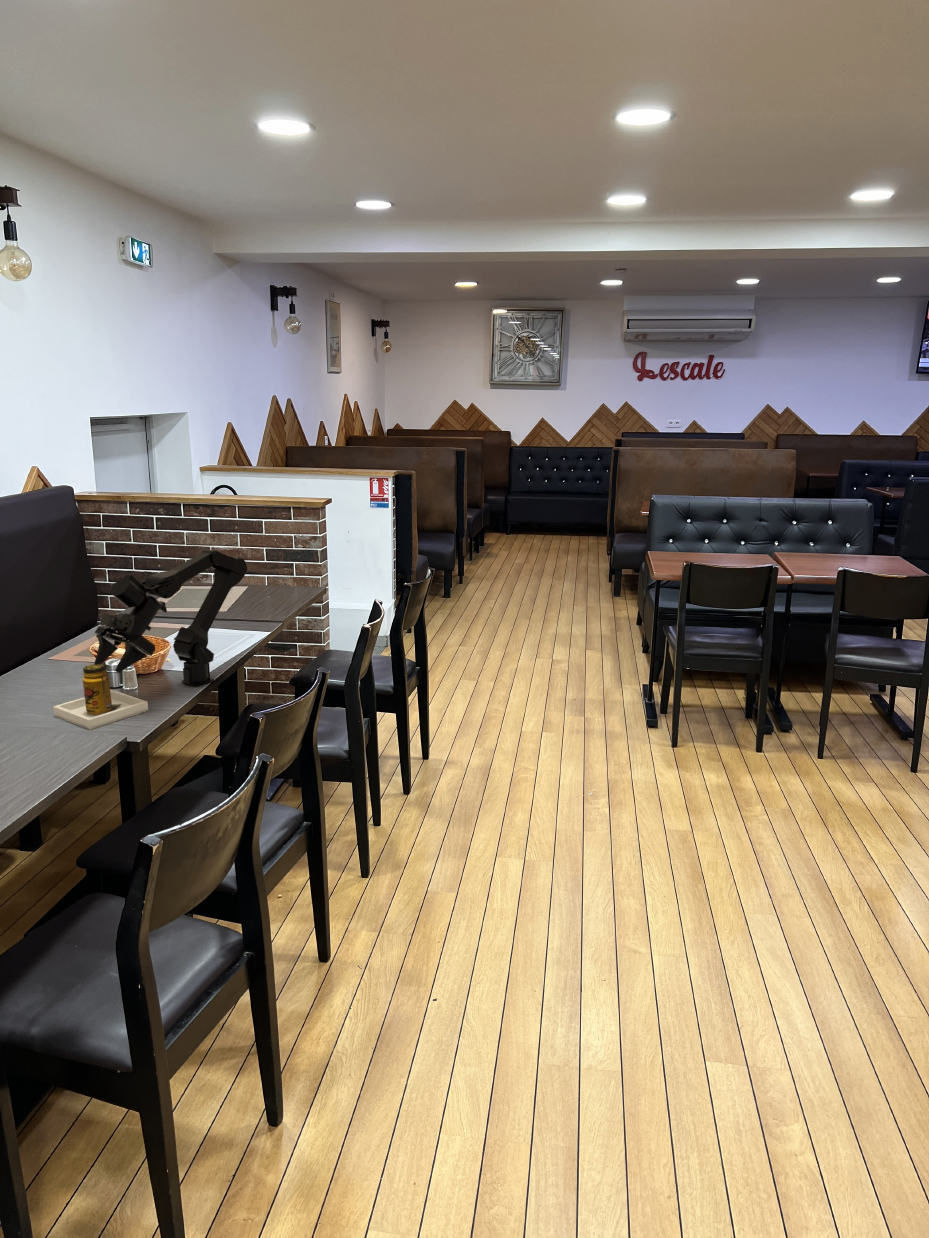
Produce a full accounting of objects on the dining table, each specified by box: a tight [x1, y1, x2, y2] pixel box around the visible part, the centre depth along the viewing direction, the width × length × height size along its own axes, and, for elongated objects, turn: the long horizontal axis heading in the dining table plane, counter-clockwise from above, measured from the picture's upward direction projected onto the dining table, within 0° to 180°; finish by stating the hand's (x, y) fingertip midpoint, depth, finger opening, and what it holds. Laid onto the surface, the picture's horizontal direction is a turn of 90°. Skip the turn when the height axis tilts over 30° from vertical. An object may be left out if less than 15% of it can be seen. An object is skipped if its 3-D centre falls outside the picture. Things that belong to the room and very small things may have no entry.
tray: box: [52, 689, 149, 731], centre depth 215 cm, size 16×16×2 cm
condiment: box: [82, 663, 121, 716], centre depth 214 cm, size 7×8×12 cm
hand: (106, 668), depth 214 cm, fingers open, 9 cm apart
